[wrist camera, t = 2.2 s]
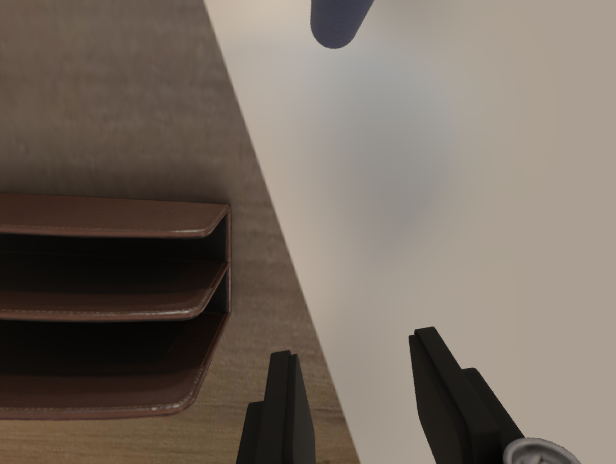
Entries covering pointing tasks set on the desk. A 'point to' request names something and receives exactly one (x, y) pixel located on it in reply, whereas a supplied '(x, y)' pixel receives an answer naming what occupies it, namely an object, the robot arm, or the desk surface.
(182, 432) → the desk surface
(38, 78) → the desk surface
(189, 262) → the letter holder
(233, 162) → the desk surface
